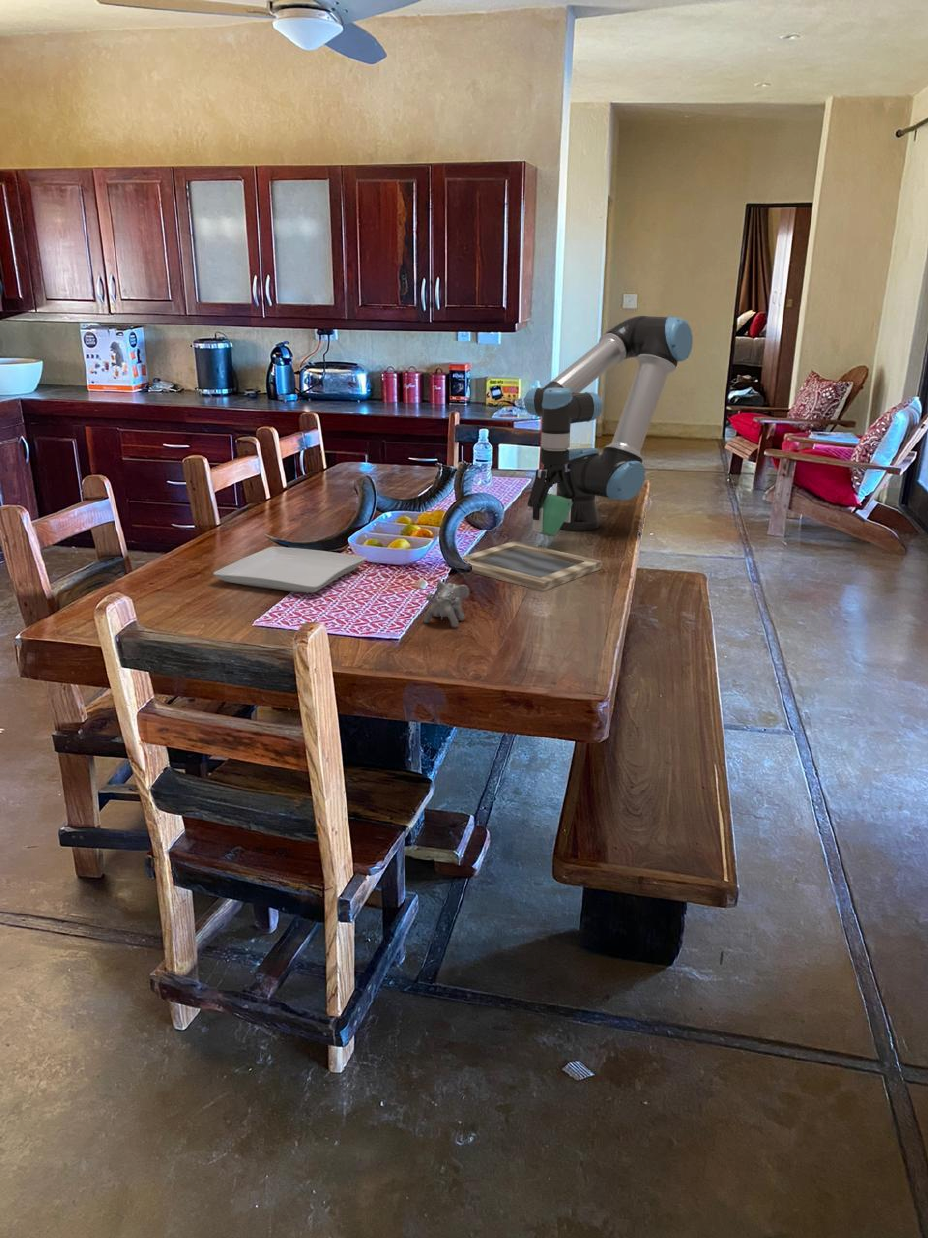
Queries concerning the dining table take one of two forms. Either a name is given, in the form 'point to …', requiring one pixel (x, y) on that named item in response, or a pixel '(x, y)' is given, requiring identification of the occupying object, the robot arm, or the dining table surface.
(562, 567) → the framed board
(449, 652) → the dining table surface
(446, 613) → the elephant statuette
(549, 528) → the green tapered cup
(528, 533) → the dining table surface
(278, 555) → the square plate
